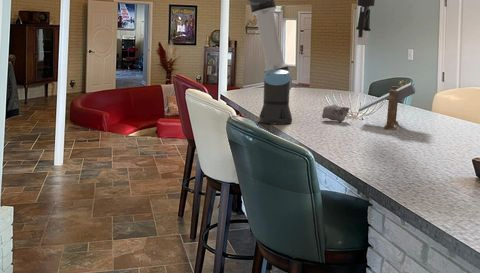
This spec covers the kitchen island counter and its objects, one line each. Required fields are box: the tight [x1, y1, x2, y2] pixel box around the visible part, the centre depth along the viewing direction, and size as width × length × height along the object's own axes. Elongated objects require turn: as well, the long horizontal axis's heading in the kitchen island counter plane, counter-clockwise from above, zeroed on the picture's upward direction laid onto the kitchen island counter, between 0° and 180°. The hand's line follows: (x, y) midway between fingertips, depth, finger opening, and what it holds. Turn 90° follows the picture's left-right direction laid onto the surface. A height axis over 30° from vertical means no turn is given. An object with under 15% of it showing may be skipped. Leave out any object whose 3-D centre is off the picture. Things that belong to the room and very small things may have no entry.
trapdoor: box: [358, 82, 416, 112], centre depth 209 cm, size 24×16×4 cm, turn 69°
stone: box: [321, 104, 351, 123], centre depth 219 cm, size 8×12×7 cm, turn 53°
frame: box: [383, 85, 400, 131], centre depth 209 cm, size 5×22×17 cm, turn 159°
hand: (362, 45), depth 214 cm, fingers open, 13 cm apart
